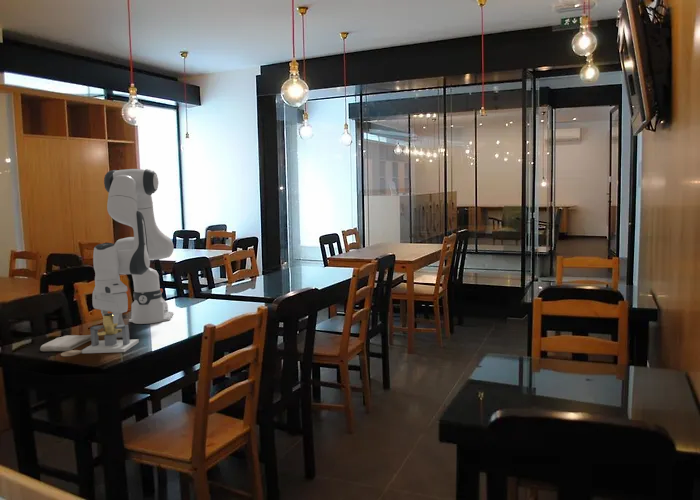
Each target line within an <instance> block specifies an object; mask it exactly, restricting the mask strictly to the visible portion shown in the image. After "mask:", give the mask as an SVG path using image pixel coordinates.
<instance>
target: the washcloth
mask: <svg viewBox="0 0 700 500" xmlns="http://www.w3.org/2000/svg"><path fill="white" fill-rule="evenodd" d="M90 341H91V334H84V335H76V334H71V335H68V334H67V335H63V336H61V337H60V336H58V337H56V338H55V339H52V340H50V341H48V342H45V343H44V344H42V345H41V346H40V348H39V350H40V352H66V351H72V350H73V349H74V350H75V349H76V348H78V347H80V346H82V345H84V344H86V343H88V342H90Z"/></svg>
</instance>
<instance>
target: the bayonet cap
mask: <svg viewBox="0 0 700 500" xmlns="http://www.w3.org/2000/svg"><path fill="white" fill-rule="evenodd" d="M112 319H113V314H112V312H108V314H104V315H103V316H102V321H103V322H102V324H103V327H104V328H103V331H98V332H97V334H98V337H99V336H104V335H111V334H117V333H118V332H122V329H116V326H118V323H116V324H114V323H112Z"/></svg>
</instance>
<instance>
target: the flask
mask: <svg viewBox="0 0 700 500" xmlns="http://www.w3.org/2000/svg"><path fill="white" fill-rule="evenodd" d="M118 325H126V324H125V322H124V318H123V313H120V315H119V318H118ZM129 336H130V333H129ZM120 338H121V339H123V338H122V332H118V333H117V334H116V339H120Z"/></svg>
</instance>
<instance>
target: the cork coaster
mask: <svg viewBox="0 0 700 500" xmlns="http://www.w3.org/2000/svg"><path fill="white" fill-rule="evenodd" d="M80 354H83V353H82V350H78V349H74V350H73V349H72V350H70V351H62V353H60V356H61V357H74V356H78V355H80Z"/></svg>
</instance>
